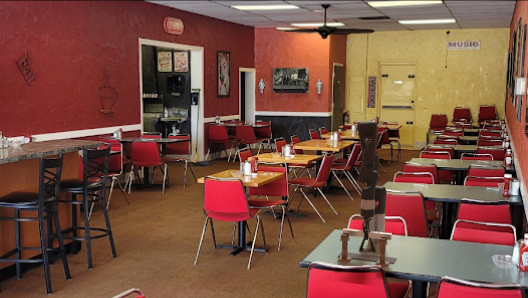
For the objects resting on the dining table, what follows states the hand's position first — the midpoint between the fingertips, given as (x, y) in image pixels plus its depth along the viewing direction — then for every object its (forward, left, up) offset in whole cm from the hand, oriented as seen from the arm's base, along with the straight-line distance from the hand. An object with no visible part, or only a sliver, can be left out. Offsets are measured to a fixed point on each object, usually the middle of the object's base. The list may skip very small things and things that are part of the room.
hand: (366, 238), depth 305 cm
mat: (0, 0, -11) cm, 11 cm away
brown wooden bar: (0, 0, +1) cm, 1 cm away
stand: (+9, 0, -11) cm, 14 cm away
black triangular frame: (-15, -3, -11) cm, 19 cm away
